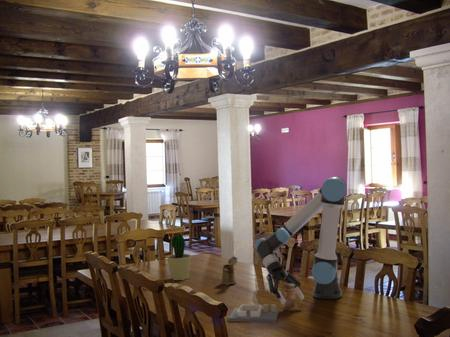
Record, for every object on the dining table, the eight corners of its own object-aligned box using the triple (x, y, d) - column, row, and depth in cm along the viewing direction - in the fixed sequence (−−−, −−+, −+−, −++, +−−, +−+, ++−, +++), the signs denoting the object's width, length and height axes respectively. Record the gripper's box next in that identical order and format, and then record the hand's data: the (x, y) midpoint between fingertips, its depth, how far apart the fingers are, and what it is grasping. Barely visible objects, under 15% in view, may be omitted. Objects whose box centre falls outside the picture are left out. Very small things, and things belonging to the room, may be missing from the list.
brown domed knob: (297, 307, 243) (296, 283, 243) (296, 311, 236) (295, 286, 236) (284, 306, 244) (283, 283, 244) (283, 310, 238) (282, 286, 237)
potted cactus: (193, 275, 322) (191, 230, 321) (189, 281, 306) (187, 234, 306) (170, 276, 323) (168, 231, 323) (165, 281, 308) (163, 234, 308)
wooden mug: (228, 287, 286) (227, 257, 286) (218, 283, 299) (217, 254, 298) (241, 285, 290) (240, 255, 290) (231, 281, 303) (230, 252, 302)
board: (279, 311, 236) (278, 302, 236) (275, 322, 221) (275, 312, 221) (235, 310, 241) (234, 301, 241) (228, 321, 225) (228, 311, 225)
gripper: (286, 265, 259) (308, 300, 246) (251, 272, 247) (271, 310, 234) (293, 257, 255) (314, 292, 242) (257, 264, 242) (278, 301, 229)
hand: (293, 301), depth 238 cm, fingers open, 11 cm apart
